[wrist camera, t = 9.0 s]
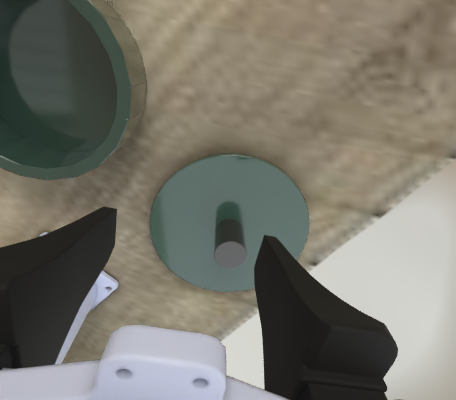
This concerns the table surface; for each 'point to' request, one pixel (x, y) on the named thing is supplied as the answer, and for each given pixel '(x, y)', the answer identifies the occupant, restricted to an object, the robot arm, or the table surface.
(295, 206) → the pot lid
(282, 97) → the table surface
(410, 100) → the table surface
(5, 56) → the pot
